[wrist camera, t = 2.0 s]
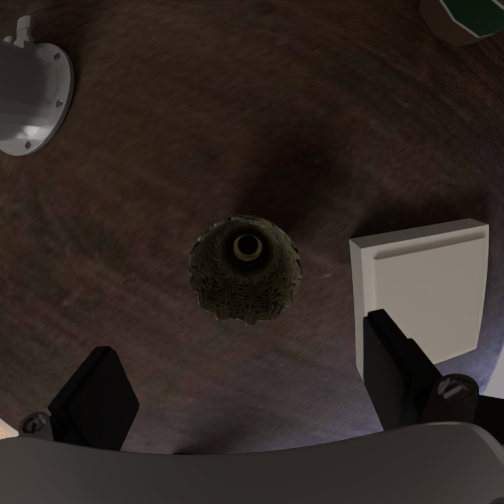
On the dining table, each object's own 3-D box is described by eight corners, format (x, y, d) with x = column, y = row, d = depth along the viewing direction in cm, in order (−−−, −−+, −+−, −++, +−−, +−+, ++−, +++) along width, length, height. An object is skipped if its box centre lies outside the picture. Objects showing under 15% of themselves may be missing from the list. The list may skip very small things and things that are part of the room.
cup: (298, 212, 27) (315, 230, 19) (280, 291, 29) (288, 334, 21) (213, 195, 26) (195, 207, 19) (200, 275, 28) (180, 314, 21)
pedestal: (349, 239, 27) (363, 250, 23) (469, 218, 26) (492, 225, 22) (356, 365, 31) (366, 387, 27) (461, 334, 30) (478, 351, 26)
